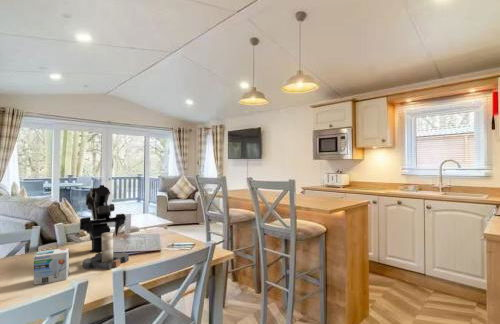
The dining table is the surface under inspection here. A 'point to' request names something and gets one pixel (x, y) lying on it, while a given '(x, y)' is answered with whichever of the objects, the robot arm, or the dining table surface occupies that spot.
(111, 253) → the pin
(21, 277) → the dining table surface
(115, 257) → the pixel heart plate
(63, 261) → the light bulb box
